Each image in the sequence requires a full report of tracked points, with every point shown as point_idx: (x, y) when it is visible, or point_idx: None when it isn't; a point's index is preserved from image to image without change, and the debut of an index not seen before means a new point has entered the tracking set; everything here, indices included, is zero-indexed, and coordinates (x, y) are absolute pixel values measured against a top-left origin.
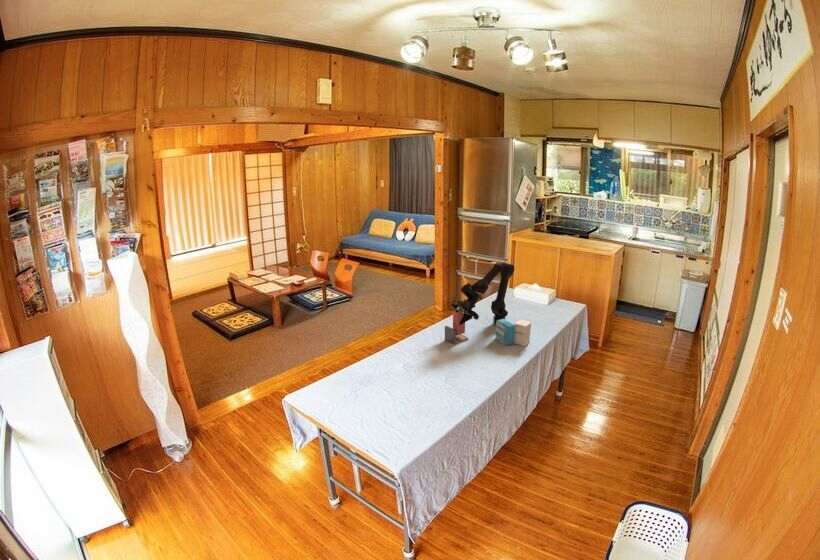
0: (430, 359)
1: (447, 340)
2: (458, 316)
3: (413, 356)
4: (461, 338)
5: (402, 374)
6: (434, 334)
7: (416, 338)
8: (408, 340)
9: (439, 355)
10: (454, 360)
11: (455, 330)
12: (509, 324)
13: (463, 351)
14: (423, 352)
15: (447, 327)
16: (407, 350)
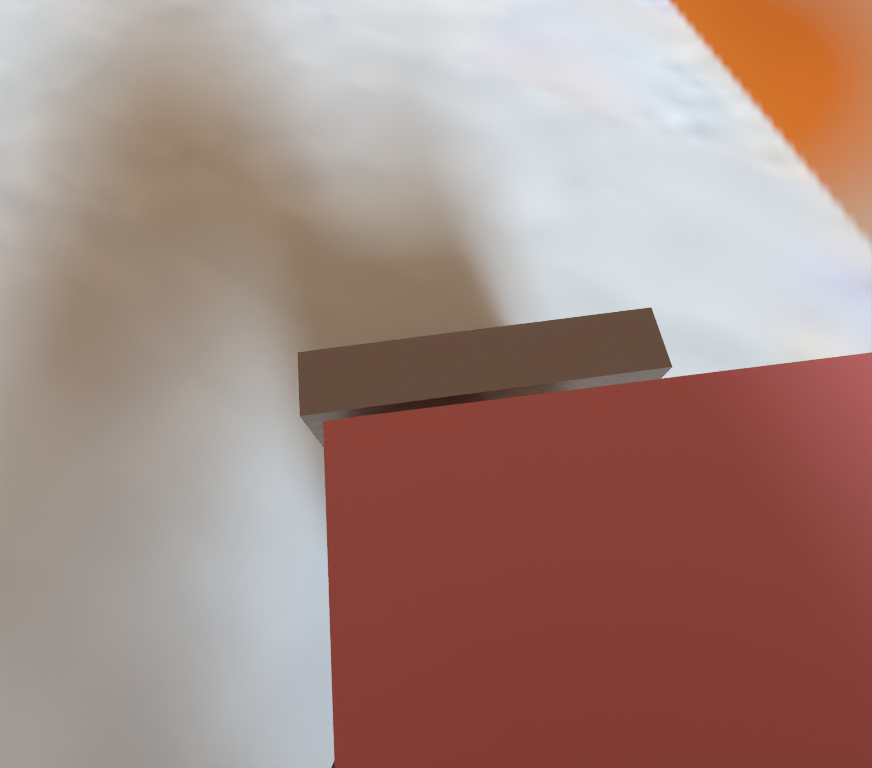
0: (246, 94)
1: None
2: (342, 556)
3: (392, 18)
4: None
5: None
6: None
7: (765, 175)
8: (743, 98)
9: (252, 187)
10: (49, 254)
11: (300, 403)
12: None
13: (122, 468)
14: (409, 102)
15: (562, 330)
16: (528, 22)
